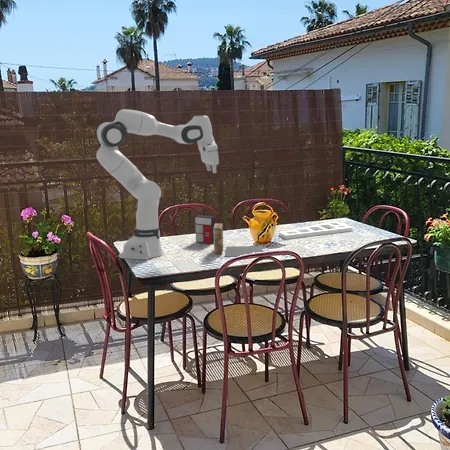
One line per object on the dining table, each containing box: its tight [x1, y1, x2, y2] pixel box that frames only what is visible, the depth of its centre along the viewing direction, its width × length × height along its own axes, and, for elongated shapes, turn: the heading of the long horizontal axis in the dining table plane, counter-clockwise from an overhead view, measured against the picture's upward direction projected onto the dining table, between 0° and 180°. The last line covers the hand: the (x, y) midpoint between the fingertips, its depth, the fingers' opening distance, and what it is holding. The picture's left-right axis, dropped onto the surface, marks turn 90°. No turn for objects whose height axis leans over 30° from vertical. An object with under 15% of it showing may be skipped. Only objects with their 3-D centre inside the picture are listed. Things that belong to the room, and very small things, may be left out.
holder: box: [278, 221, 354, 240], centre depth 284 cm, size 45×18×3 cm, turn 110°
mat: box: [224, 245, 266, 258], centre depth 246 cm, size 21×18×1 cm
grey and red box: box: [194, 214, 216, 245], centre depth 264 cm, size 11×4×15 cm, turn 62°
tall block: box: [213, 222, 224, 256], centre depth 245 cm, size 4×11×14 cm, turn 177°
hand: (212, 171), depth 249 cm, fingers open, 8 cm apart
